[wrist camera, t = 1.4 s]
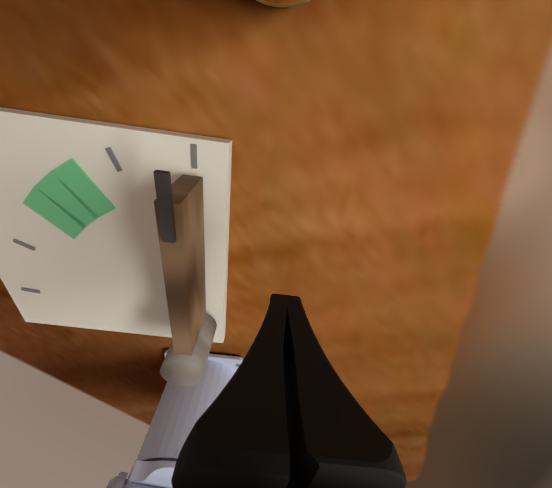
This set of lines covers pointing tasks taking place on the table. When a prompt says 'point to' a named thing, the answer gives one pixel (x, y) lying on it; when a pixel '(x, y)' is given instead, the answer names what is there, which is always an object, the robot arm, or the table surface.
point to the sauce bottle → (282, 3)
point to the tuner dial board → (102, 220)
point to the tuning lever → (184, 276)
